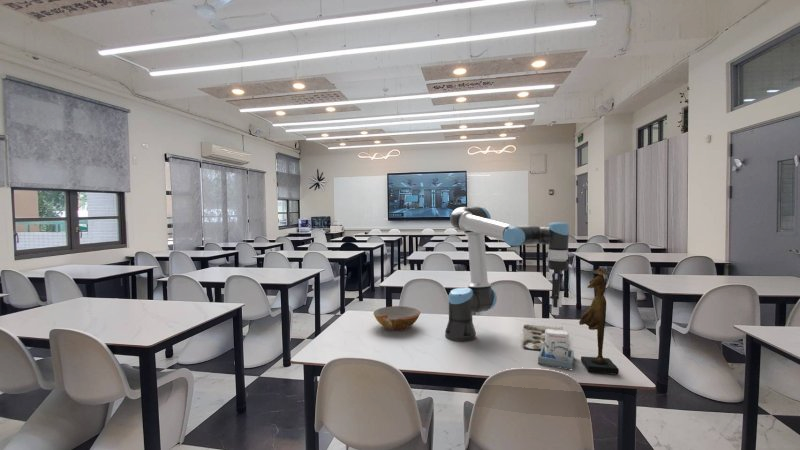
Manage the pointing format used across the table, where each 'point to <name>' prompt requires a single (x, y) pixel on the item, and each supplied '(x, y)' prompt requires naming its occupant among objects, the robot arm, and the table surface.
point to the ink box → (556, 344)
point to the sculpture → (598, 326)
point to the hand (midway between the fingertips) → (556, 310)
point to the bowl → (396, 317)
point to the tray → (556, 360)
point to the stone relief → (535, 335)
